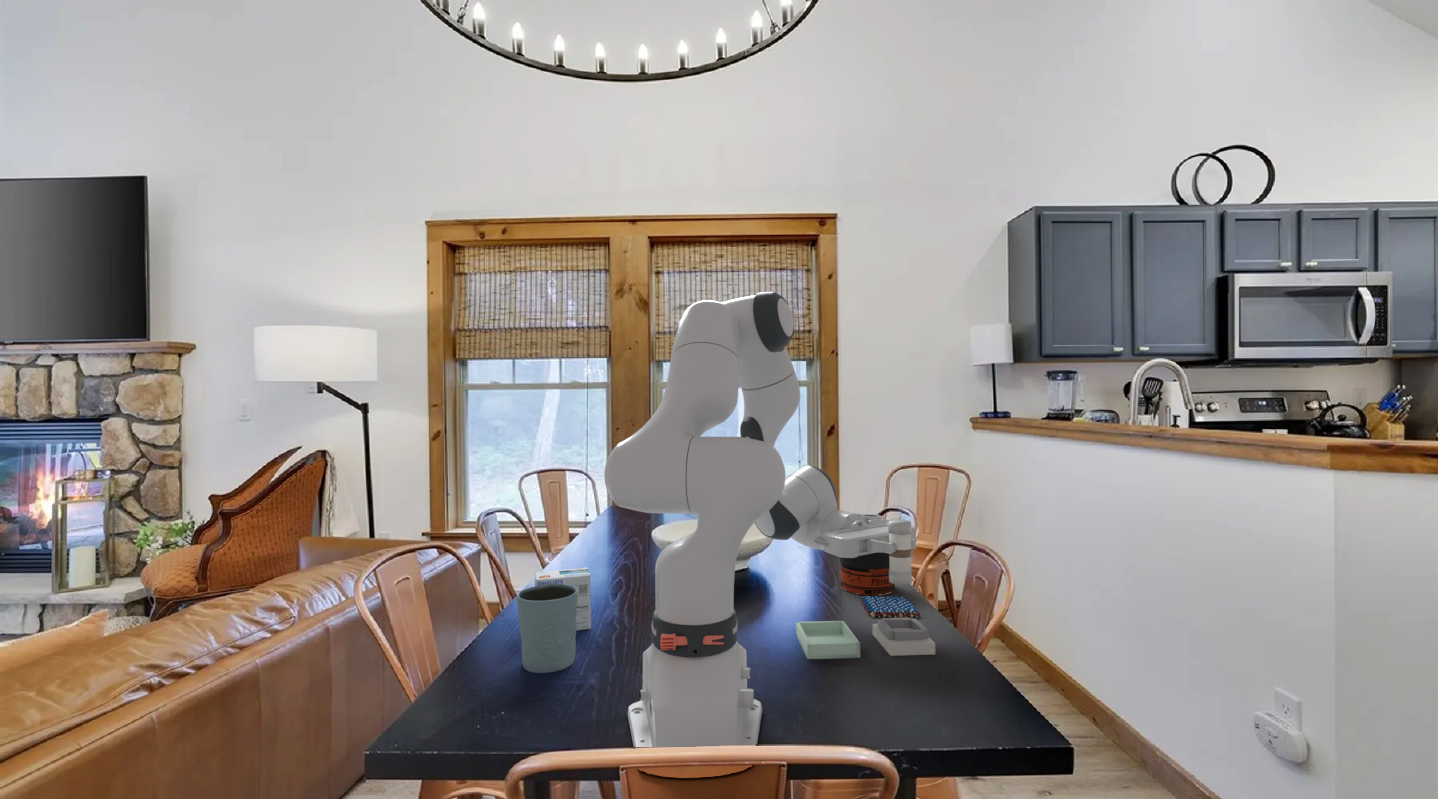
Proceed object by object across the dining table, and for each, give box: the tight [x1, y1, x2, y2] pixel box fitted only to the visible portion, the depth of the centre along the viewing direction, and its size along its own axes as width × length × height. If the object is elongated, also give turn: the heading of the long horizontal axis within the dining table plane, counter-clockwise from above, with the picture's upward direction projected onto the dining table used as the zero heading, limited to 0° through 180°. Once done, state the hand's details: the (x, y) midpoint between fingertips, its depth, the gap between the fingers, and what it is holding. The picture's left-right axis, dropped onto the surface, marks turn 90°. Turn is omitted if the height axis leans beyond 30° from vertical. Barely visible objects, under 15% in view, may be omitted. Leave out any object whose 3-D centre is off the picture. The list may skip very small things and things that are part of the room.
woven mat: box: [860, 595, 921, 619], centre depth 129 cm, size 10×11×2 cm
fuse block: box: [872, 617, 936, 657], centre depth 110 cm, size 10×8×4 cm
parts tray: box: [795, 620, 861, 660], centre depth 109 cm, size 11×9×2 cm
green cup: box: [516, 584, 578, 674], centre depth 103 cm, size 10×10×12 cm
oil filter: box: [839, 552, 896, 596], centre depth 145 cm, size 13×12×13 cm
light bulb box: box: [534, 567, 592, 631], centre depth 120 cm, size 11×7×11 cm, turn 108°
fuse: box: [887, 518, 913, 586], centre depth 110 cm, size 4×4×11 cm
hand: (903, 546), depth 109 cm, fingers closed on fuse, 4 cm apart
